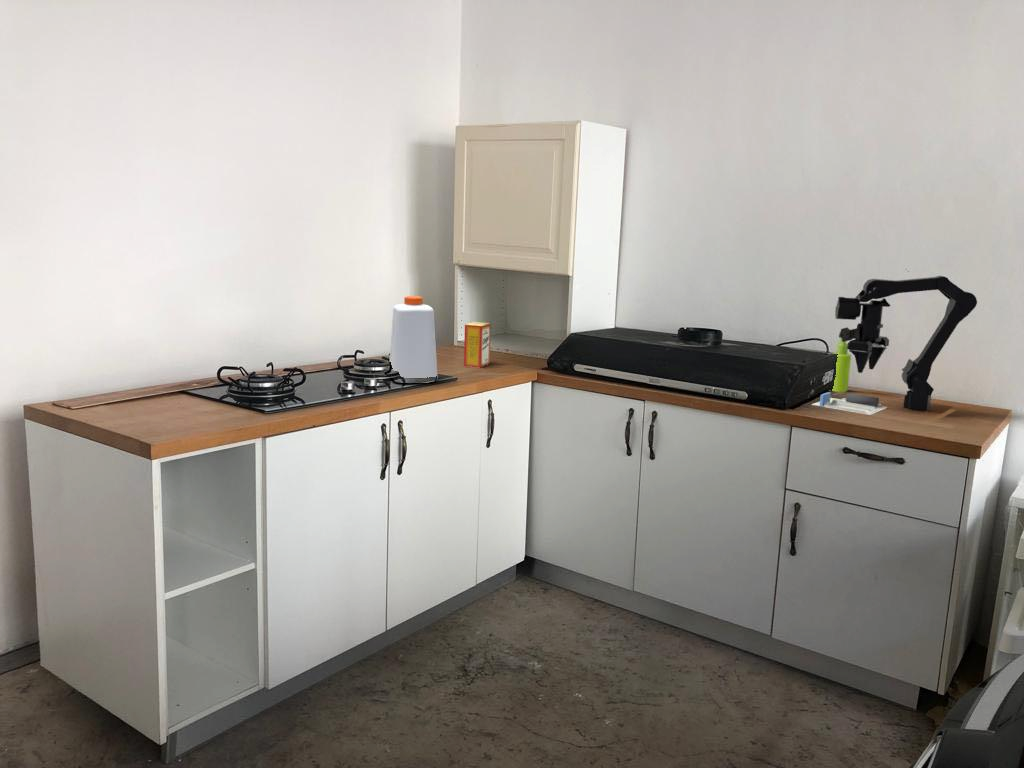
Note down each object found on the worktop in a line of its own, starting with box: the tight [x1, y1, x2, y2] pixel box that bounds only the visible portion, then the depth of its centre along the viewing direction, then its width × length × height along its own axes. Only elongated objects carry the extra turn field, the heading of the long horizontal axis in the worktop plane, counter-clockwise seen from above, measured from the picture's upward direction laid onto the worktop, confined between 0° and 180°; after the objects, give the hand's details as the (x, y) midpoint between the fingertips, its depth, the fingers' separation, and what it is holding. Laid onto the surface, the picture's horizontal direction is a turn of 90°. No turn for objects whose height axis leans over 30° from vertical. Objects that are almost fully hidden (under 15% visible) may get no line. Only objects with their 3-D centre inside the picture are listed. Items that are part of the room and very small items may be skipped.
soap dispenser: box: [831, 333, 852, 393], centre depth 287 cm, size 6×7×20 cm
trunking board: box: [811, 391, 888, 416], centre depth 264 cm, size 18×15×4 cm
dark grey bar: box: [845, 392, 880, 407], centre depth 266 cm, size 9×3×3 cm, turn 48°
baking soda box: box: [463, 321, 492, 368], centre depth 318 cm, size 10×6×16 cm
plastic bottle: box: [389, 295, 438, 378], centre depth 286 cm, size 15×15×28 cm
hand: (865, 370), depth 264 cm, fingers open, 9 cm apart
